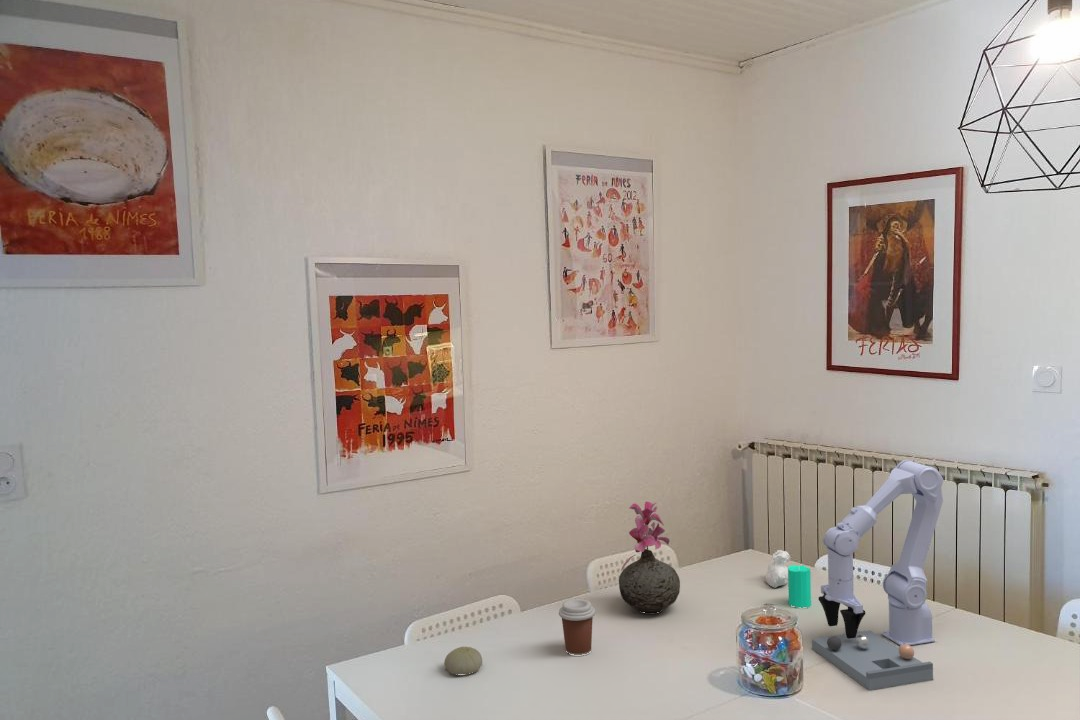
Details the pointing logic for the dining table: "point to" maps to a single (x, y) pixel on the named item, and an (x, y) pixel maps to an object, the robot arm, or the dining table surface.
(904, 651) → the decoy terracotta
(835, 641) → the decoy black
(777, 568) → the bust
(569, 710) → the dining table surface
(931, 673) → the board
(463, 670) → the sea urchin shell
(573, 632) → the coffee cup
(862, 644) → the steel ball
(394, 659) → the dining table surface
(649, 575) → the vase
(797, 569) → the candle
